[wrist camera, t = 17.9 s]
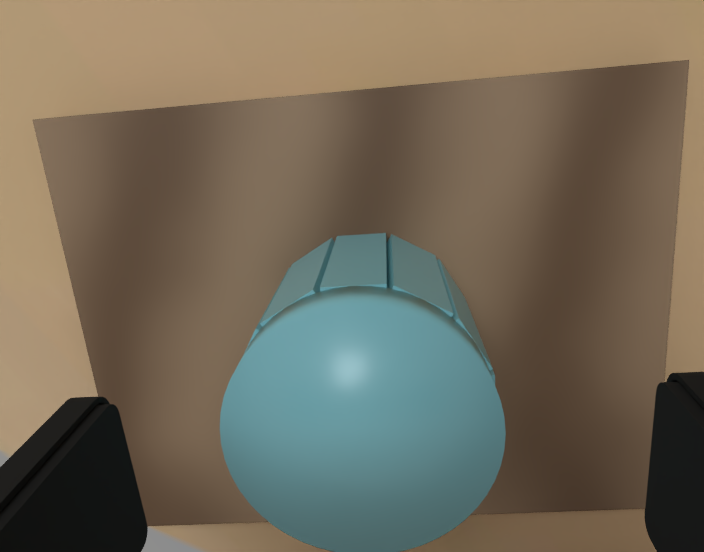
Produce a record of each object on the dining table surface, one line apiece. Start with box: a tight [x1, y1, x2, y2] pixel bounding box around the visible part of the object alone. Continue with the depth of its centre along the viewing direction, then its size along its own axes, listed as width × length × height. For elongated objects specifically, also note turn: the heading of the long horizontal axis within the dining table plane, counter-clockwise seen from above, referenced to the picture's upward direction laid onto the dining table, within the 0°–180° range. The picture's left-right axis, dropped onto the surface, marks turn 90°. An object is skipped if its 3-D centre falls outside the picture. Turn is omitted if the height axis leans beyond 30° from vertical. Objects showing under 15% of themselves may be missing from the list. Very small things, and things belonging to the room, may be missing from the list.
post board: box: [33, 60, 689, 526], centre depth 16 cm, size 18×14×6 cm
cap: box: [220, 233, 506, 552], centre depth 15 cm, size 6×6×6 cm
